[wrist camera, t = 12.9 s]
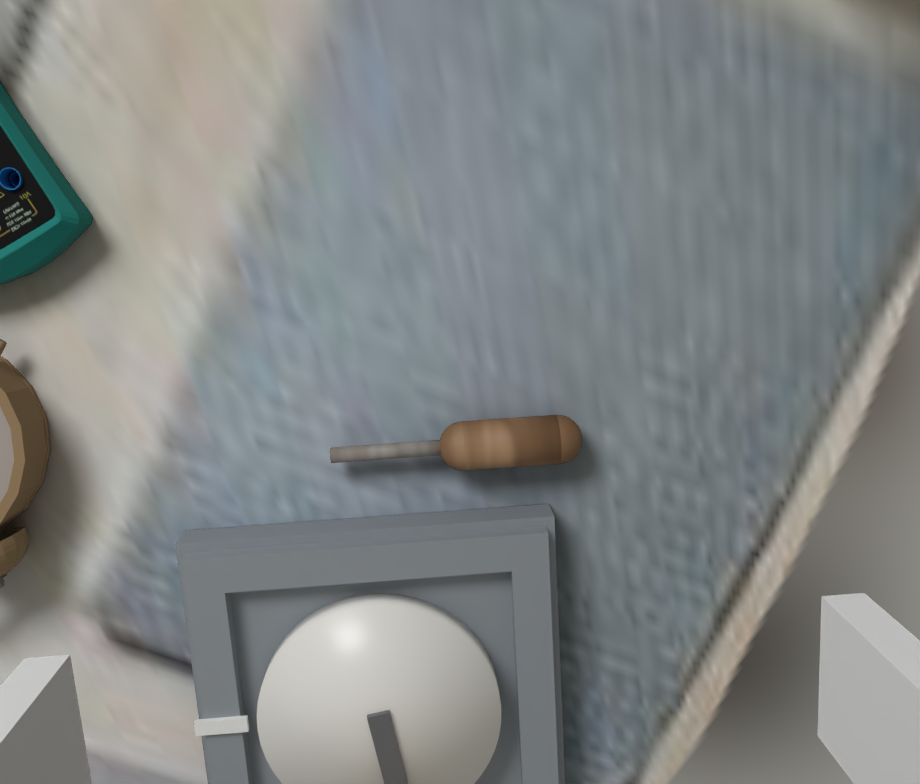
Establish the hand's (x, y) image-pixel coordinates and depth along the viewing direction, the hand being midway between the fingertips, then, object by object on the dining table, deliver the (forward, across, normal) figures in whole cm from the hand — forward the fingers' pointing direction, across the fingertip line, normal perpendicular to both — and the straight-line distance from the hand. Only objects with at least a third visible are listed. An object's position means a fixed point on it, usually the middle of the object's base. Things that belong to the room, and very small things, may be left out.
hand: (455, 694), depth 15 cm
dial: (+29, -4, -18) cm, 35 cm away
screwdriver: (+32, +1, -4) cm, 32 cm away
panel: (+32, -4, -18) cm, 37 cm away
